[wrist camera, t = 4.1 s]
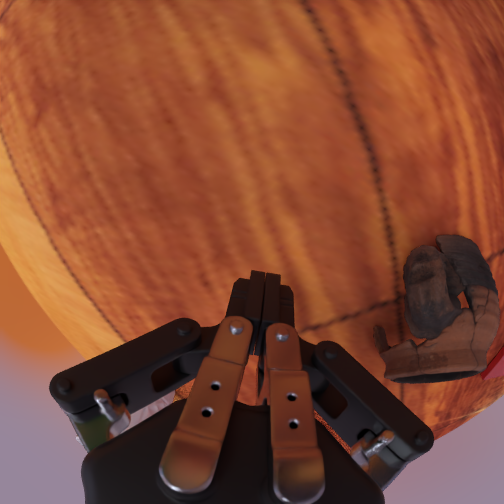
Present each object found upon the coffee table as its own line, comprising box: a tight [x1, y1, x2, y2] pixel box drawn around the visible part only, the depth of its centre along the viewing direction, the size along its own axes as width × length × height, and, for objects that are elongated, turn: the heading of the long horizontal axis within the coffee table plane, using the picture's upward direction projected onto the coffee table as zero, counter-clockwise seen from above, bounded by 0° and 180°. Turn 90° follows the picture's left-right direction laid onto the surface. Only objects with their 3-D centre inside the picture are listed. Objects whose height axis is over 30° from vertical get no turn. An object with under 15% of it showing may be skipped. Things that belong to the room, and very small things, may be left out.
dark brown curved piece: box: [373, 235, 500, 384], centre depth 14 cm, size 12×10×8 cm
